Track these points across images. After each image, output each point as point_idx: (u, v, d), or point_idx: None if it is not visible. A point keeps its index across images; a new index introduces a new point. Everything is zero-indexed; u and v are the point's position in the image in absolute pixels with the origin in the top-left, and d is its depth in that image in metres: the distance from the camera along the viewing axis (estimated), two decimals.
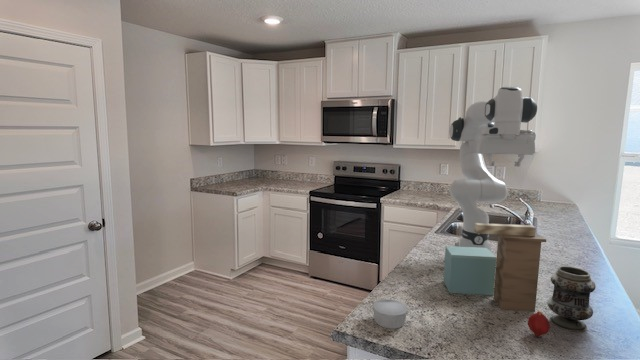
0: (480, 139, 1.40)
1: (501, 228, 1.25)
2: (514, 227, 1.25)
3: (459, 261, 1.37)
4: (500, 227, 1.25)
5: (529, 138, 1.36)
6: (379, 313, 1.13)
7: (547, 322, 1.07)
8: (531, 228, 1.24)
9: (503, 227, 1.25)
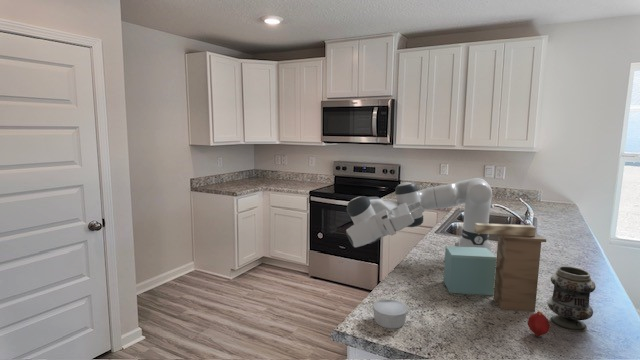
0: (397, 223, 1.25)
1: (501, 228, 1.25)
2: (514, 227, 1.25)
3: (459, 261, 1.37)
4: (500, 227, 1.25)
5: (391, 209, 1.42)
6: (379, 313, 1.13)
7: (547, 322, 1.07)
8: (531, 228, 1.24)
9: (503, 227, 1.25)
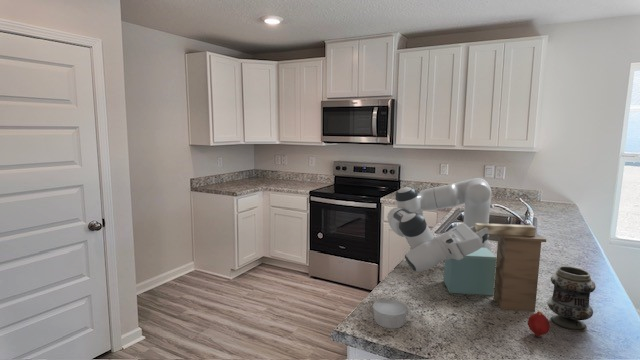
0: (465, 247, 1.20)
1: (501, 228, 1.25)
2: (514, 227, 1.25)
3: (459, 261, 1.37)
4: (500, 227, 1.25)
5: (450, 230, 1.37)
6: (379, 313, 1.13)
7: (547, 322, 1.07)
8: (531, 228, 1.24)
9: (503, 227, 1.25)
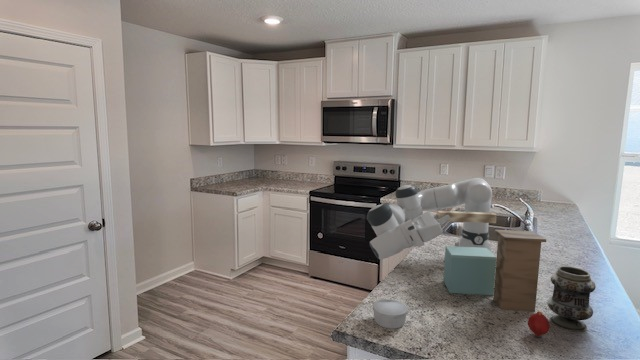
0: (425, 234, 1.21)
1: (463, 215, 1.26)
2: (475, 214, 1.26)
3: (459, 261, 1.37)
4: (462, 214, 1.26)
5: (415, 219, 1.38)
6: (379, 313, 1.13)
7: (547, 322, 1.07)
8: (492, 215, 1.25)
9: (464, 214, 1.26)
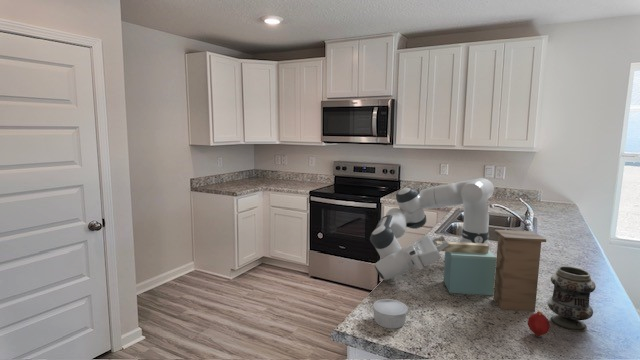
0: (425, 259, 1.35)
1: (458, 246, 1.40)
2: (470, 245, 1.40)
3: (459, 261, 1.37)
4: (457, 245, 1.40)
5: (416, 242, 1.51)
6: (379, 313, 1.13)
7: (547, 322, 1.07)
8: (484, 246, 1.39)
9: (460, 245, 1.40)
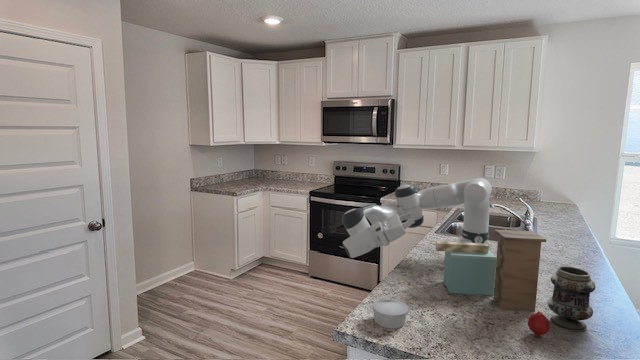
0: (390, 235, 1.34)
1: (458, 246, 1.40)
2: (470, 245, 1.40)
3: (459, 261, 1.37)
4: (457, 245, 1.40)
5: (384, 220, 1.51)
6: (379, 313, 1.13)
7: (547, 322, 1.07)
8: (484, 246, 1.39)
9: (460, 245, 1.40)
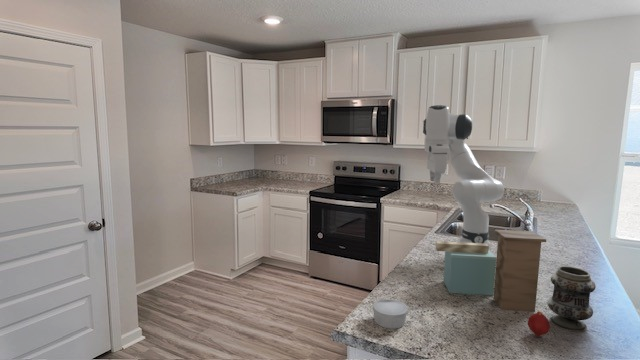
0: (441, 158, 1.32)
1: (458, 246, 1.40)
2: (470, 245, 1.40)
3: (459, 261, 1.37)
4: (457, 245, 1.40)
5: None
6: (379, 313, 1.13)
7: (547, 322, 1.07)
8: (484, 246, 1.39)
9: (460, 245, 1.40)
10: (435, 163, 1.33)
